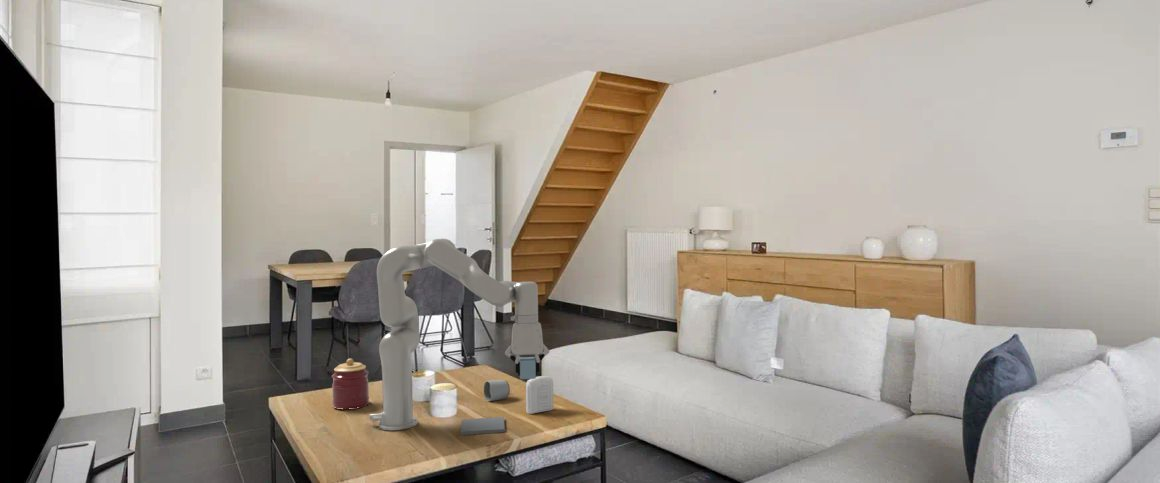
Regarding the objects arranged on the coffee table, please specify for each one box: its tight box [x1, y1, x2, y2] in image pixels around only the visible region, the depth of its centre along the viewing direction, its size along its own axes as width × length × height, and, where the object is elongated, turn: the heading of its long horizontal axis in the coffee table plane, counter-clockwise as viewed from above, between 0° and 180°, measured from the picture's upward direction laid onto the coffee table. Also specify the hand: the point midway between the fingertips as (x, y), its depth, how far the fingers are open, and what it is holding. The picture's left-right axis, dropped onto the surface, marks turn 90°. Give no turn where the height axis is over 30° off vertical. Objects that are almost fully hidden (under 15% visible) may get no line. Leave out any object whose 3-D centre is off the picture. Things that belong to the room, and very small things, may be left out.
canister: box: [331, 358, 370, 409], centre depth 234 cm, size 13×13×18 cm
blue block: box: [519, 356, 537, 380], centre depth 205 cm, size 5×5×6 cm
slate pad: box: [459, 416, 506, 436], centre depth 206 cm, size 14×13×1 cm
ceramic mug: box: [483, 379, 511, 402], centre depth 240 cm, size 11×8×8 cm
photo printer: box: [525, 375, 554, 415], centre depth 222 cm, size 10×4×12 cm, turn 123°
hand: (527, 374), depth 205 cm, fingers closed on blue block, 5 cm apart
